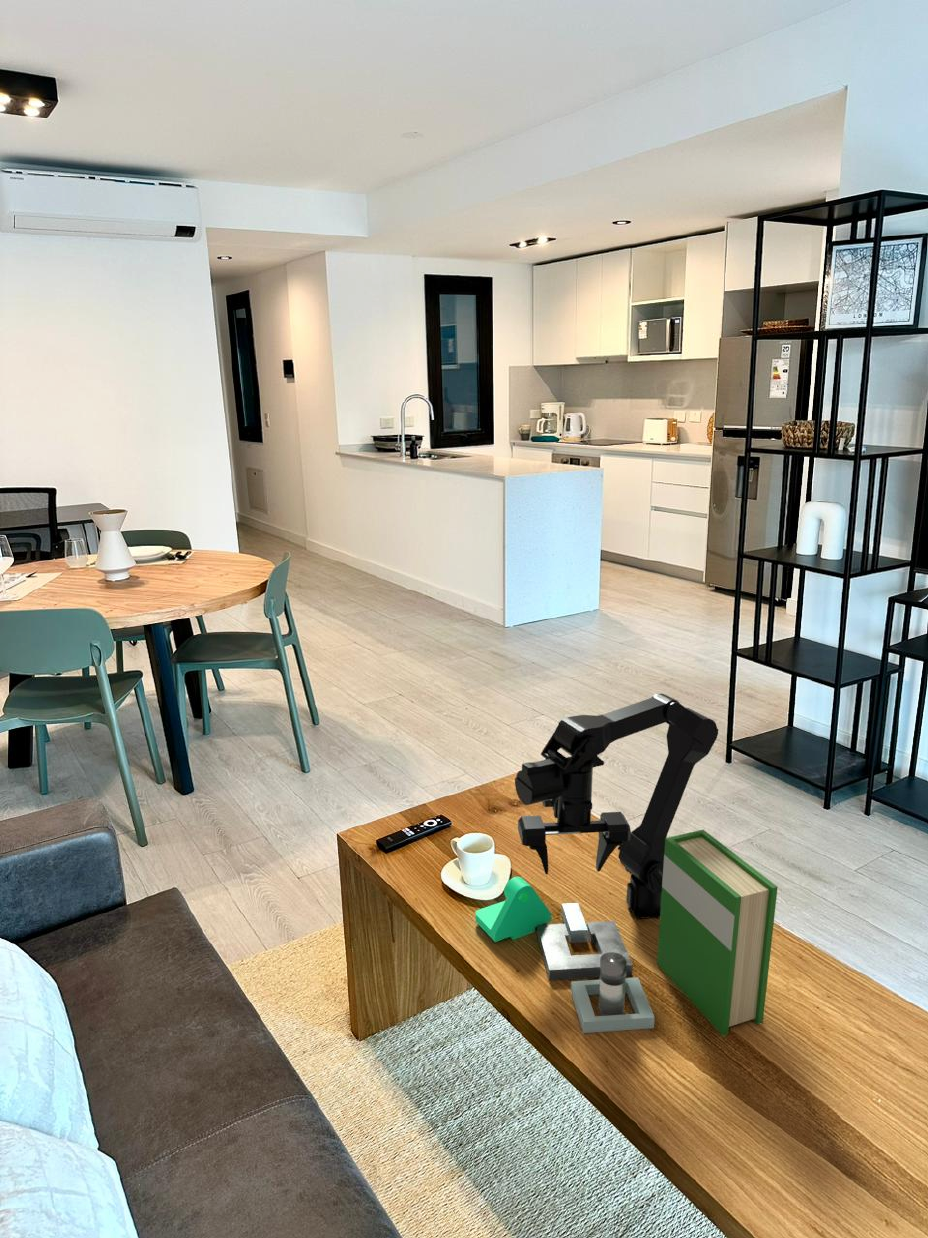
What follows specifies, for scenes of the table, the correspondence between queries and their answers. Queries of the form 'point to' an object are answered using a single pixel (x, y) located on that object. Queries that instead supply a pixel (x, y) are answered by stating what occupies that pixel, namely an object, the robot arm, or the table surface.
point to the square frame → (613, 1022)
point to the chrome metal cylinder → (612, 984)
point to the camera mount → (514, 912)
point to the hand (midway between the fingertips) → (572, 871)
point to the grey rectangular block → (574, 922)
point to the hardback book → (715, 929)
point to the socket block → (579, 966)
